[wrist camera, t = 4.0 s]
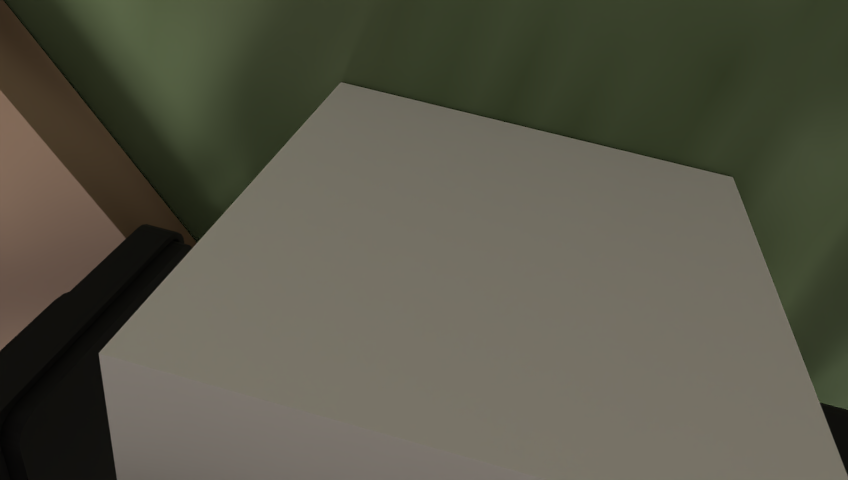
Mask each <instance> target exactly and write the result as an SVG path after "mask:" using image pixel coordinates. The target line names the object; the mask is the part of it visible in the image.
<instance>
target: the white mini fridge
mask: <svg viewBox="0 0 848 480" xmlns="http://www.w3.org/2000/svg"><path fill="white" fill-rule="evenodd" d="M99 360H100V367H101V373H102V380H103V387H104V394H105V401H106V408H107V415H108V421H109V428H110V435H111V442H112V449H113V456H114V462H115V469H116V476H117V480H848V475H847V473H846V470H845V468H844V465H843V462H842V460H841V457H840V455H839V452H838V449H837V447H836V444H835V441H834V439H833V436H832V434H831V431H830V428H829V426H828V423H827V421H826V418H825V415H824V413H823V410H822V408H821V405H820V402H819V400H818V397H817V395H816V392H815V389H814V387H813V384H812V382H811V379H810V376H809V374H808V371H807V369H806V366H805V363H804V361H803V358H802V356H801V353H800V350H799V348H798V345H797V343H796V340H795V337H794V335H793V332H792V330H791V327H790V324H789V322H788V319H787V317H786V314H785V311H784V309H783V306H782V304H781V301H780V298H779V296H778V293H777V291H776V288H775V285H774V283H773V280H772V278H771V275H770V272H769V270H768V267H767V264H766V262H765V259H764V257H763V254H762V251H761V249H760V246H759V244H758V241H757V238H756V236H755V233H754V231H753V228H752V225H751V223H750V220H749V218H748V215H747V212H746V210H745V207H744V205H743V202H742V199H741V197H740V194H739V192H738V189H737V186H736V184H735V181H734V179H733V177H730V176H726V175H721V174H717V173H713V172H709V171H705V170H701V169H697V168H693V167H689V166H684V165H680V164H676V163H672V162H668V161H664V160H660V159H656V158H651V157H647V156H643V155H639V154H635V153H631V152H627V151H623V150H618V149H614V148H610V147H606V146H602V145H598V144H594V143H590V142H586V141H581V140H577V139H573V138H569V137H565V136H561V135H557V134H553V133H548V132H544V131H540V130H536V129H532V128H528V127H524V126H520V125H516V124H511V123H507V122H503V121H499V120H495V119H491V118H487V117H483V116H478V115H474V114H470V113H466V112H462V111H458V110H454V109H450V108H445V107H441V106H437V105H433V104H429V103H425V102H421V101H417V100H413V99H408V98H404V97H400V96H396V95H392V94H388V93H384V92H380V91H375V90H371V89H367V88H363V87H359V86H355V85H351V84H347V83H343V82H340V84H339V85H338V86H337V87H336V88H335V89H334V90H333V91H332V93H331V94H330V95H329V96H328V97H327V98H326V99H325V100H324V101H323V103H322V104H321V105H320V106H319V107H318V108H317V109H316V110H315V112H314V113H313V114H312V115H311V116H310V117H309V118H308V119H307V121H306V122H305V123H304V124H303V125H302V126H301V127H300V128H299V129H298V131H297V132H296V133H295V134H294V135H293V136H292V137H291V138H290V140H289V141H288V142H287V143H286V144H285V145H284V146H283V147H282V148H281V150H280V151H279V152H278V153H277V154H276V155H275V156H274V157H273V159H272V160H271V161H270V162H269V163H268V164H267V165H266V166H265V168H264V169H263V170H262V171H261V172H260V173H259V174H258V175H257V176H256V178H255V179H254V180H253V181H252V182H251V183H250V184H249V185H248V187H247V188H246V189H245V190H244V191H243V192H242V193H241V194H240V196H239V197H238V198H237V199H236V200H235V201H234V202H233V203H232V204H231V206H230V207H229V208H228V209H227V210H226V211H225V212H224V213H223V215H222V216H221V217H220V218H219V219H218V220H217V221H216V222H215V224H214V225H213V226H212V227H211V228H210V229H209V230H208V231H207V232H206V234H205V235H204V236H203V237H202V238H201V239H200V240H199V241H198V243H197V244H196V245H195V246H194V247H193V248H192V249H191V250H190V251H189V253H188V254H187V255H186V256H185V257H184V258H183V259H182V260H181V262H180V263H179V264H178V265H177V266H176V267H175V268H174V269H173V271H172V272H171V273H170V274H169V275H168V276H167V277H166V278H165V279H164V281H163V282H162V283H161V284H160V285H159V286H158V287H157V288H156V290H155V291H154V292H153V293H152V294H151V295H150V296H149V297H148V299H147V300H146V301H145V302H144V303H143V304H142V305H141V306H140V307H139V309H138V310H137V311H136V312H135V313H134V314H133V315H132V316H131V318H130V319H129V320H128V321H127V322H126V323H125V324H124V325H123V326H122V328H121V329H120V330H119V331H118V332H117V333H116V334H115V335H114V337H113V338H112V339H111V340H110V341H109V342H108V343H107V344H106V346H105V347H104V348H103V349H102V350H101V351H100V352H99Z"/></svg>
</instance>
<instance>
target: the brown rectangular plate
mask: <svg viewBox="0 0 848 480" xmlns="http://www.w3.org/2000/svg"><path fill="white" fill-rule="evenodd" d="M144 224H148V225H152V226H156V227H160V228H163V229H167V230H171V231H175V232H178V233H180V234H182V236H183V238H184V244H188V245H190V246H191V247H192V248H193V247H194V246H195V245H196V244H197V242H196V241H195V240H194V239H193V237H192V236H191V235H190V234H189V232H188V231H187V230H186V229H185V227H184V226H183V225H182V224H181V222H180V221H179V220H178V219H177V217H176V216H175V215H174V214H173V212H172V211H171V210H170V209H169V207H168V206H167V205H166V204H165V202H164V201H163V200H162V199H161V197H160V196H159V195H158V194H157V192H156V191H155V190H154V189H153V187H152V186H151V185H150V184H149V182H148V181H147V180H146V179H145V177H144V176H143V175H142V174H141V172H140V171H139V170H138V169H137V167H136V166H135V165H134V164H133V162H132V161H131V160H130V159H129V157H128V156H127V155H126V154H125V152H124V151H123V150H122V148H121V147H120V146H119V145H118V143H117V142H116V141H115V140H114V138H113V137H112V136H111V135H110V133H109V132H108V131H107V130H106V128H105V127H104V126H103V125H102V123H101V122H100V121H99V120H98V118H97V117H96V116H95V115H94V113H93V112H92V111H91V110H90V108H89V107H88V106H87V105H86V103H85V102H84V101H83V100H82V98H81V97H80V96H79V95H78V93H77V92H76V91H75V90H74V88H73V87H72V86H71V85H70V83H69V82H68V81H67V80H66V78H65V77H64V76H63V75H62V73H61V72H60V71H59V70H58V68H57V67H56V66H55V65H54V63H53V62H52V61H51V60H50V58H49V57H48V56H47V55H46V53H45V52H44V51H43V49H42V48H41V47H40V46H39V44H38V43H37V42H36V41H35V39H34V38H33V37H32V36H31V34H30V33H29V32H28V31H27V29H26V28H25V27H24V26H23V24H22V23H21V22H20V21H19V19H18V18H17V17H16V16H15V14H14V13H13V12H12V11H11V9H10V8H9V7H8V6H7V4H6V3H5V2H4V1H3V0H0V350H1V349H3V348H4V347H5V346H6V345H7V344H8V343H9V342H10V341H11V340H12V339H13V338H14V337H15V336H17V335H18V334H19V333H20V332H21V331H22V330H23V329H24V328H25V327H26V326H27V325H28V324H29V323H31V322H32V321H33V320H34V319H35V318H36V317H37V316H38V315H39V314H40V313H41V312H42V311H43V310H45V309H46V308H47V307H48V306H49V305H50V304H51V303H52V302H53V301H54V300H55V299H57V298H58V297H60V296H61V295H62V294H64V293H67V292H70V291H71V290H72V289H73V288H74V287H75V286H76V285H77V284H78V283H79V282H80V281H81V280H83V279H84V278H85V277H86V276H87V275H88V274H89V273H90V272H91V271H92V270H93V269H94V268H95V267H96V266H97V265H98V264H100V263H101V262H102V261H103V260H104V259H105V258H106V257H107V256H108V255H109V254H110V253H111V252H112V251H113V250H114V249H116V248H117V247H118V246H119V245H120V244H121V243H122V242H123V241H124V240H125V239H126V238H127V237H128V236H129V235H130V234H131V233H133V232H134V231H135V230H136V229H137V228H138V227H140V226H141V225H144Z"/></svg>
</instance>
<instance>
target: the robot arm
mask: <svg viewBox="0 0 848 480" xmlns="http://www.w3.org/2000/svg"><path fill="white" fill-rule="evenodd" d="M191 249H192V247H191V246H190V245H188V244H184V238H183V236H182V234H180V233H178V232H175V231H171V230H167V229H163V228H160V227H156V226H152V225H148V224H144V225H141V226H140V227H138V228H137V229H136V230H135V231H134V232H133V233H131V234H130V235H129V236H128V237H127V238H126V239H125V240H124V241H123V242H122V243H121V244H120V245H119V246H118V247H117V248H116V249H114V250H113V251H112V252H111V253H110V254H109V255H108V256H107V257H106V258H105V259H104V260H103V261H102V262H101V263H100V264H98V265H97V266H96V267H95V268H94V269H93V270H92V271H91V272H90V273H89V274H88V275H87V276H86V277H85V278H84V279H83V280H81V281H80V282H79V283H78V284H77V285H76V286H75V287H74V288H73V289H72V290H71V291H70V292H67V293H64V294H62V295H61V296H60V297H58V298H57V299H55V300H54V301H53V302H52V303H51V304H50V305H49V306H48V307H47V308H46V309H45V310H43V311H42V312H41V313H40V314H39V315H38V316H37V317H36V318H35V319H34V320H33V321H32V322H31V323H29V324H28V325H27V326H26V327H25V328H24V329H23V330H22V331H21V332H20V333H19V334H18V335H17V336H15V337H14V338H13V339H12V340H11V341H10V342H9V343H8V344H7V345H6V346H5V347H4V348H3V349H1V350H0V480H117V476H116V469H115V462H114V456H113V449H112V442H111V435H110V428H109V421H108V415H107V408H106V401H105V394H104V387H103V380H102V373H101V367H100V360H99V352H100V351H101V350H102V349H103V348H104V347H105V346H106V344H107V343H108V342H109V341H110V340H111V339H112V338H113V337H114V335H115V334H116V333H117V332H118V331H119V330H120V329H121V328H122V326H123V325H124V324H125V323H126V322H127V321H128V320H129V319H130V318H131V316H132V315H133V314H134V313H135V312H136V311H137V310H138V309H139V307H140V306H141V305H142V304H143V303H144V302H145V301H146V300H147V299H148V297H149V296H150V295H151V294H152V293H153V292H154V291H155V290H156V288H157V287H158V286H159V285H160V284H161V283H162V282H163V281H164V279H165V278H166V277H167V276H168V275H169V274H170V273H171V272H172V271H173V269H174V268H175V267H176V266H177V265H178V264H179V263H180V262H181V260H182V259H183V258H184V257H185V256H186V255H187V254H188V253H189V251H190V250H191ZM820 405H821V408H822V410H823V413H824V415H825V418H826V421H827V423H828V426H829V428H830V431H831V434H832V436H833V439H834V441H835V444H836V447H837V449H838V452H839V455H840V457H841V460H842V462H843V465H844V468H845V470H846V473H847V475H848V410H846V409H842V408H838V407H834V406H830V405H827V404H823V403H820Z"/></svg>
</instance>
